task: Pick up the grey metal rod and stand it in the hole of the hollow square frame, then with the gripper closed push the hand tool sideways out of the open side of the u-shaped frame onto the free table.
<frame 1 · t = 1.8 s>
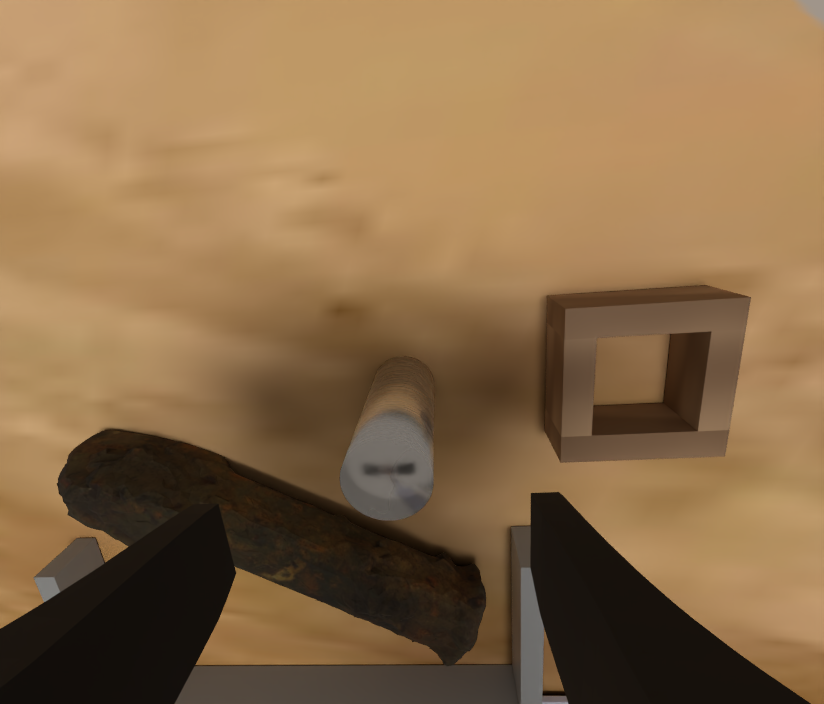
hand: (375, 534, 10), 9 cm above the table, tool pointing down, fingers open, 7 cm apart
u-shaped frame: (310, 610, 23), on the table
hollow square frame: (620, 362, 18), on the table
rod: (403, 385, 19), on the table
hand tool: (294, 512, 21), on the table
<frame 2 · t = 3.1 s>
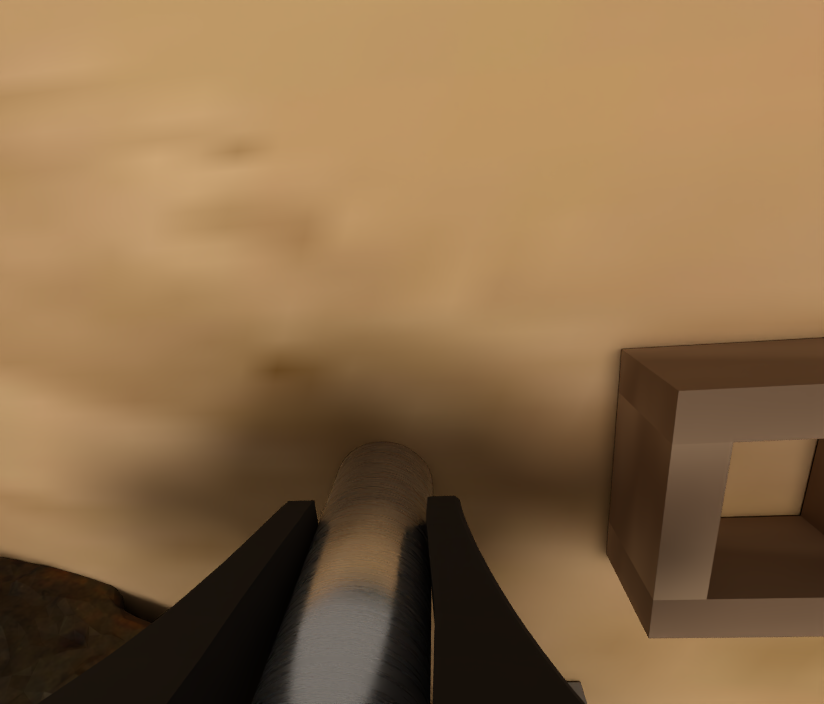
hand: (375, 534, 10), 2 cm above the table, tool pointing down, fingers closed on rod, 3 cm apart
hollow square frame: (735, 455, 11), on the table
rod: (384, 484, 12), on the table, touching gripper
hand tool: (226, 654, 15), on the table
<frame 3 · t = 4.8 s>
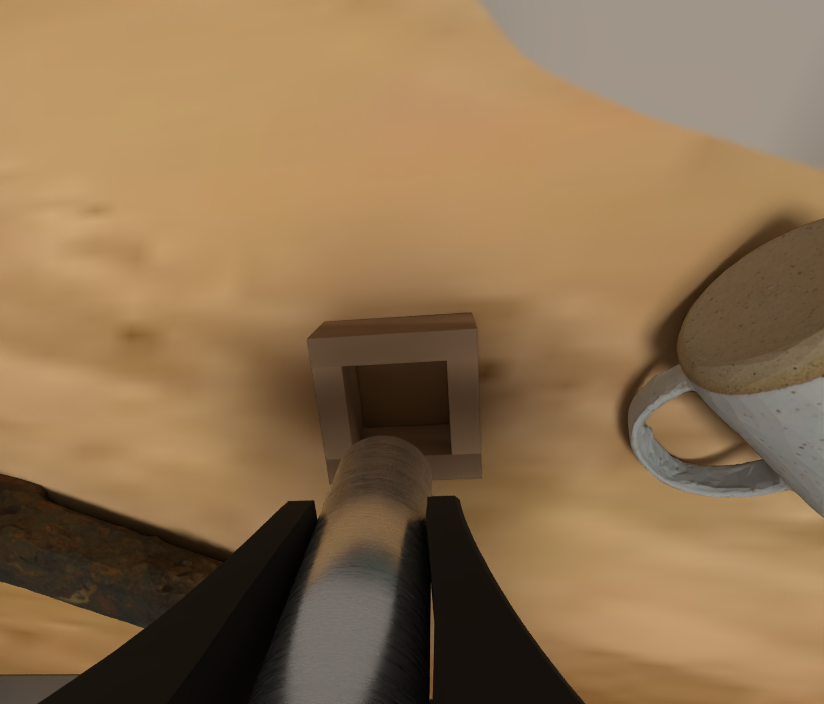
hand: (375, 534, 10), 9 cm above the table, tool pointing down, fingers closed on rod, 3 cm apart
u-shaped frame: (148, 621, 23), on the table
hollow square frame: (402, 385, 18), on the table
ceramic mug: (741, 367, 18), on the table
rod: (384, 477, 12), point 7 cm above the table, touching gripper
hand tool: (121, 534, 22), on the table
when the fingers open (3 cm above the table, at t = 6.3 s): rod drops 1 cm, resting in hollow square frame.
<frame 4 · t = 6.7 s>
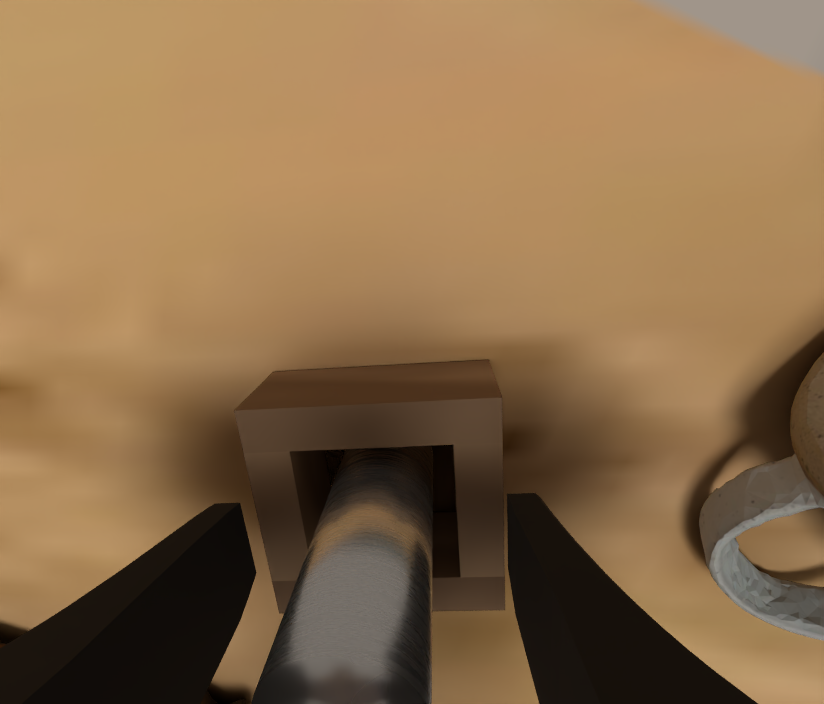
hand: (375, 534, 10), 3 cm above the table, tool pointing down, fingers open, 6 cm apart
hollow square frame: (389, 460, 13), on the table
rod: (389, 457, 13), resting in hollow square frame
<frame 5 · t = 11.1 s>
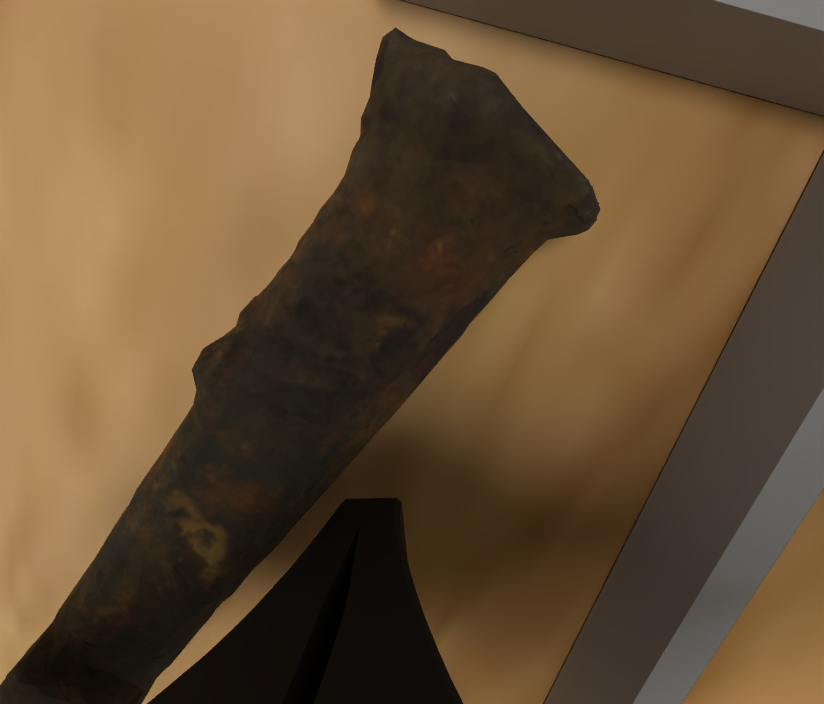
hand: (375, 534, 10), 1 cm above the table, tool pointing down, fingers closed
u-shaped frame: (474, 516, 11), on the table
hand tool: (273, 461, 12), on the table, touching gripper
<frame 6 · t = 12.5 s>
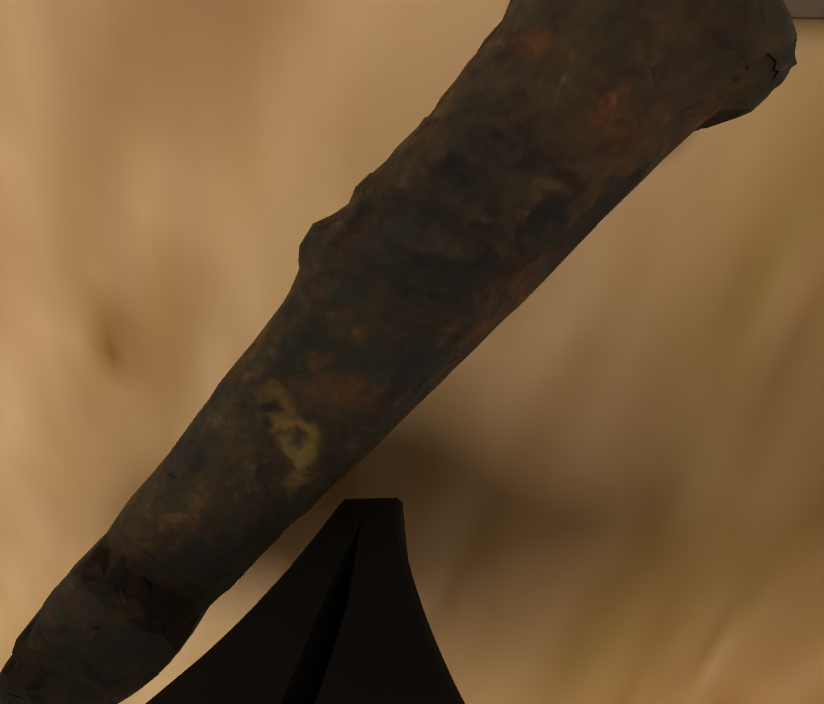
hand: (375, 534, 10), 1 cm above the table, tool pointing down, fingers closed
u-shaped frame: (751, 515, 11), on the table
hand tool: (334, 391, 11), on the table
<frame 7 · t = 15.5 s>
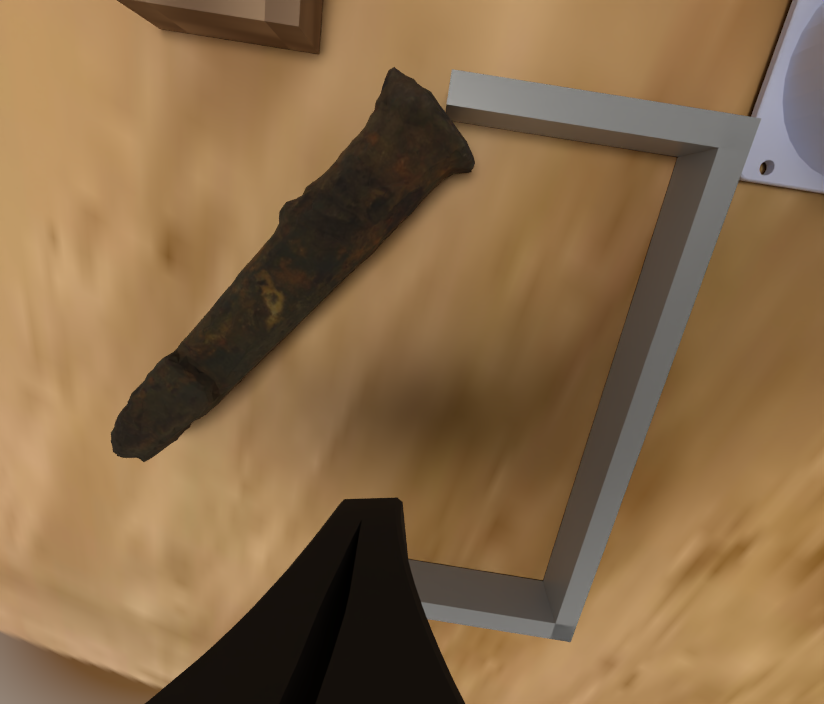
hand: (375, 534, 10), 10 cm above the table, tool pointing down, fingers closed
u-shaped frame: (512, 390, 20), on the table
hand tool: (297, 299, 19), on the table
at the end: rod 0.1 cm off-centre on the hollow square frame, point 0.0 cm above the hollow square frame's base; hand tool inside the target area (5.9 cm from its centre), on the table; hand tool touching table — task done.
